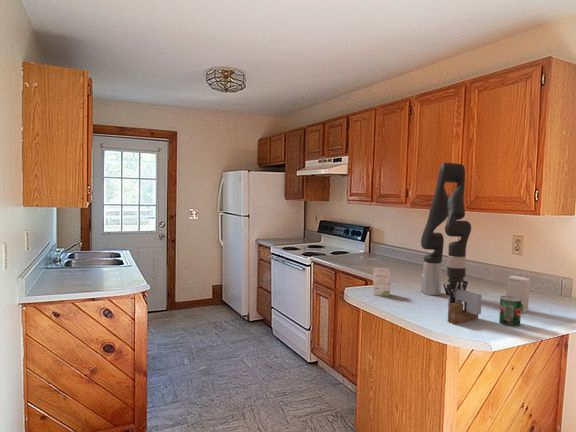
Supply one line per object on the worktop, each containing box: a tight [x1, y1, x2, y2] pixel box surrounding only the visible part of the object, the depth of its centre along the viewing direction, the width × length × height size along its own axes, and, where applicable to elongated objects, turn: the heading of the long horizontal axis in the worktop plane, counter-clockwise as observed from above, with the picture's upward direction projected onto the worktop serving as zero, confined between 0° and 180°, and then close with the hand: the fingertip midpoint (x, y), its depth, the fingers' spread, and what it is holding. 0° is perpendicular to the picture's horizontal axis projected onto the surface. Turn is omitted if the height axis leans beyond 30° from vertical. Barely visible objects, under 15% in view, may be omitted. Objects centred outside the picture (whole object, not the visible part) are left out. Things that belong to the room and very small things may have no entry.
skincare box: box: [505, 275, 531, 314], centre depth 190 cm, size 8×7×16 cm
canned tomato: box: [498, 295, 522, 328], centre depth 170 cm, size 8×8×11 cm
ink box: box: [372, 267, 391, 297], centre depth 215 cm, size 9×5×15 cm, turn 74°
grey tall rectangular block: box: [447, 289, 483, 315], centre depth 174 cm, size 14×3×8 cm, turn 29°
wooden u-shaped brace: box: [447, 301, 479, 325], centre depth 174 cm, size 3×16×8 cm, turn 119°
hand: (455, 304), depth 178 cm, fingers closed on grey tall rectangular block, 3 cm apart
